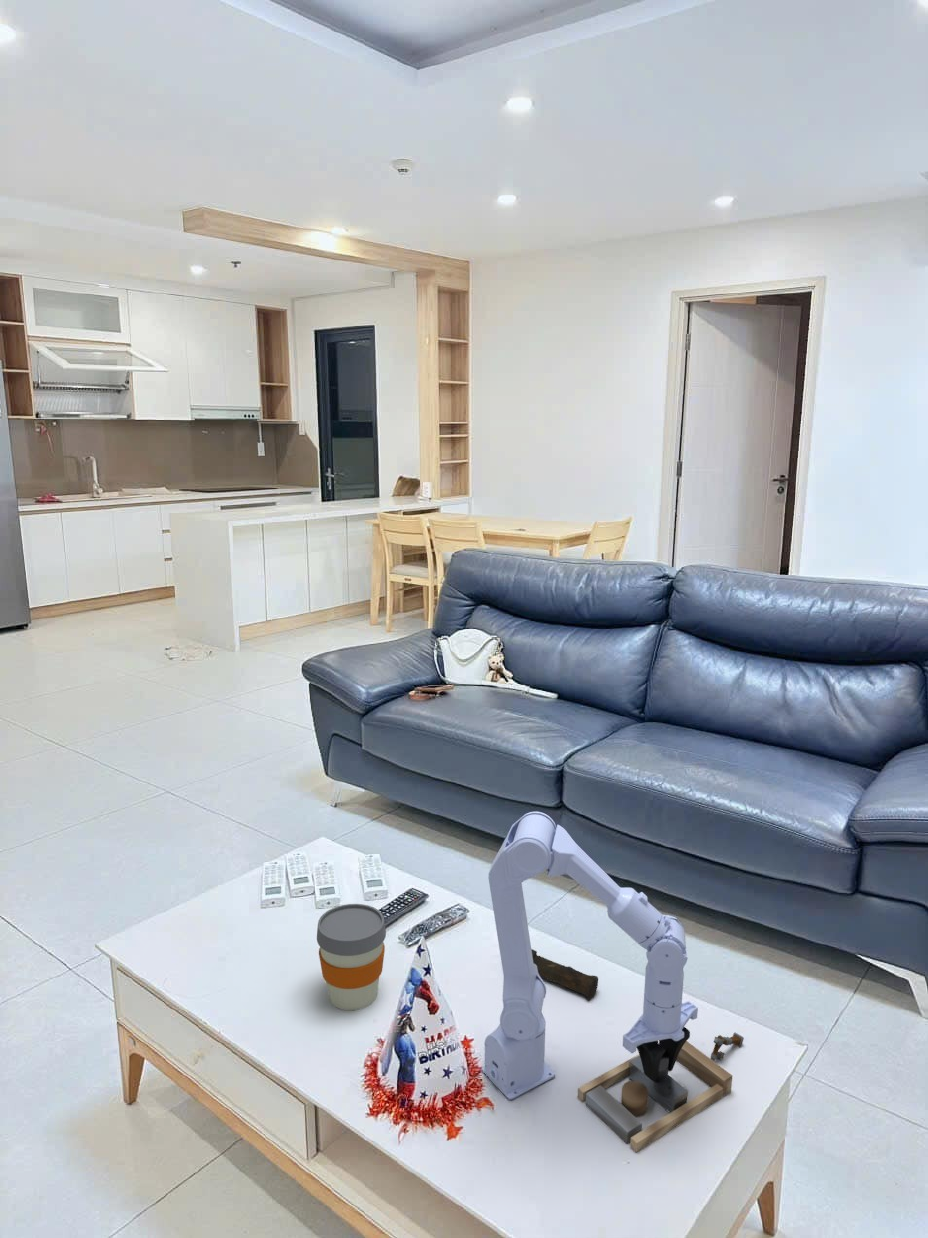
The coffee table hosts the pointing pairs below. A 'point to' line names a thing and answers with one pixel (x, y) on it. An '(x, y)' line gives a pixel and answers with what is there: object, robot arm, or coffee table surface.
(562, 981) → the dark brown log
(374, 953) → the reusable coffee cup
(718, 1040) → the jointed folding linkage
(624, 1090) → the brown wooden cylinder
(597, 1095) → the vise frame
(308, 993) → the coffee table surface
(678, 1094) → the block
